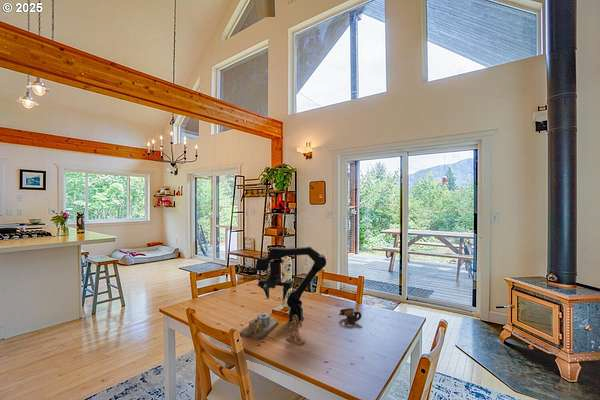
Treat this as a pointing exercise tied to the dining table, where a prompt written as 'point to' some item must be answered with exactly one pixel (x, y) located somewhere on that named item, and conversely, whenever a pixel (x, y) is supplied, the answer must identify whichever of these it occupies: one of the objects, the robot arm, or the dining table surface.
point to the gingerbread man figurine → (292, 338)
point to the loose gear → (264, 318)
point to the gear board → (259, 334)
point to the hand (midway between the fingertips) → (275, 299)
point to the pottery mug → (350, 316)
